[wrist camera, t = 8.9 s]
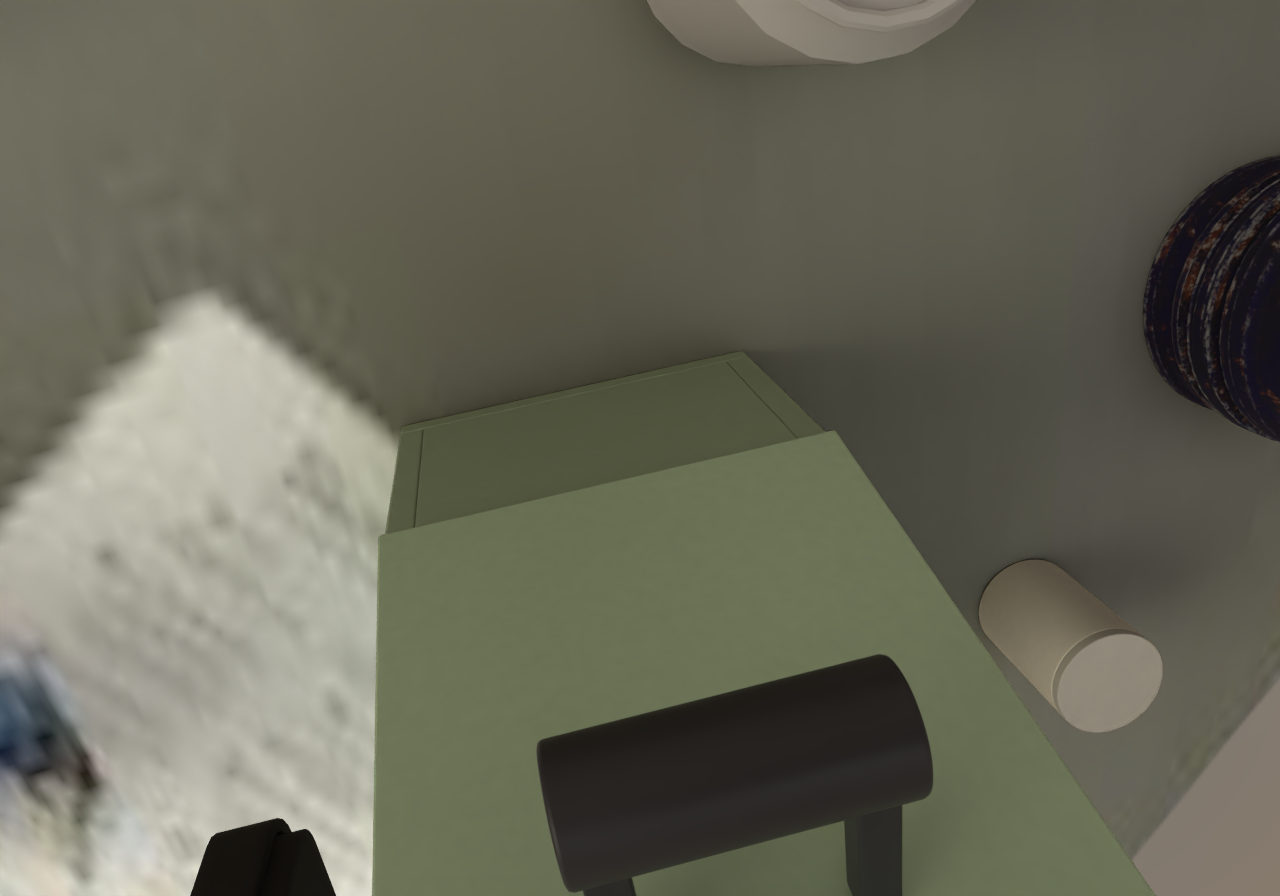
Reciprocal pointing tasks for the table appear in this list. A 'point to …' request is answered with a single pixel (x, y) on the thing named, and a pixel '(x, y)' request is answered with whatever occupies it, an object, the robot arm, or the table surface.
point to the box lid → (707, 703)
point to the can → (806, 28)
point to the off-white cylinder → (1070, 646)
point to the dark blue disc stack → (1222, 299)
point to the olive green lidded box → (588, 438)
